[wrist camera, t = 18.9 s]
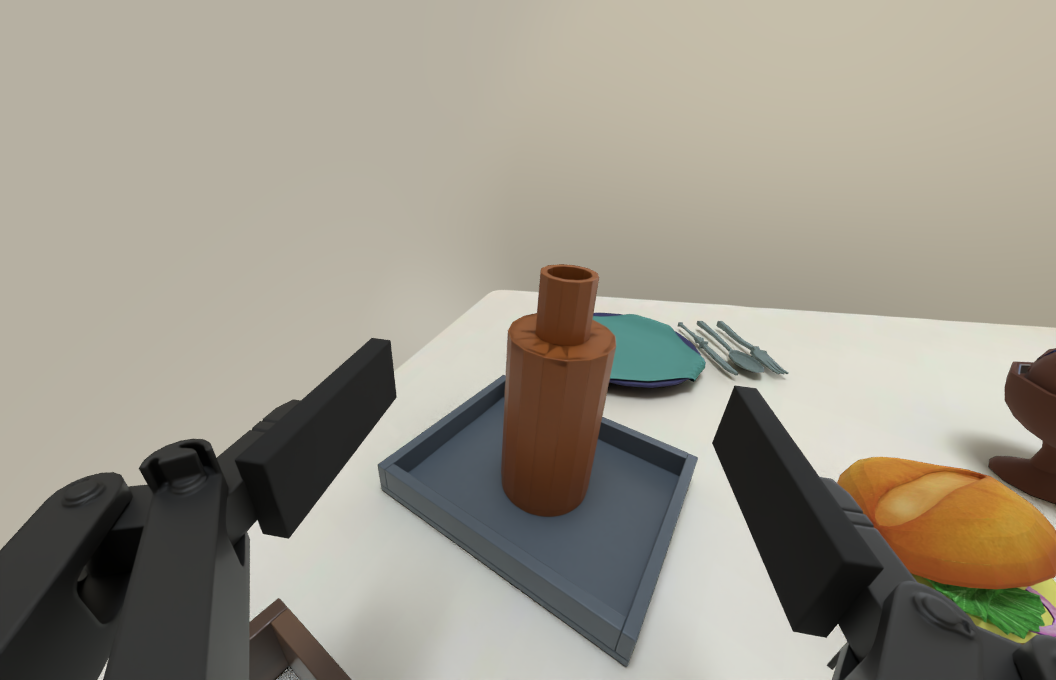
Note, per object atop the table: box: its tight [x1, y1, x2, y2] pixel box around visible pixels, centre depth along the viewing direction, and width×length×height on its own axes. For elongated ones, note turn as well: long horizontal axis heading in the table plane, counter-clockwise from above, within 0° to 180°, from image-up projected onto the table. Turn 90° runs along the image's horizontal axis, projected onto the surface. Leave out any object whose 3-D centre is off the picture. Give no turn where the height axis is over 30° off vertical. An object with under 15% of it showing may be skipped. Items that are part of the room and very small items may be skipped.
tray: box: [378, 375, 698, 667], centre depth 30 cm, size 20×16×3 cm
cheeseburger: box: [837, 457, 1056, 645], centre depth 23 cm, size 10×11×10 cm
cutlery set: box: [592, 313, 788, 388], centre depth 51 cm, size 20×30×2 cm, turn 97°
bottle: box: [501, 264, 616, 517], centre depth 26 cm, size 7×7×17 cm
